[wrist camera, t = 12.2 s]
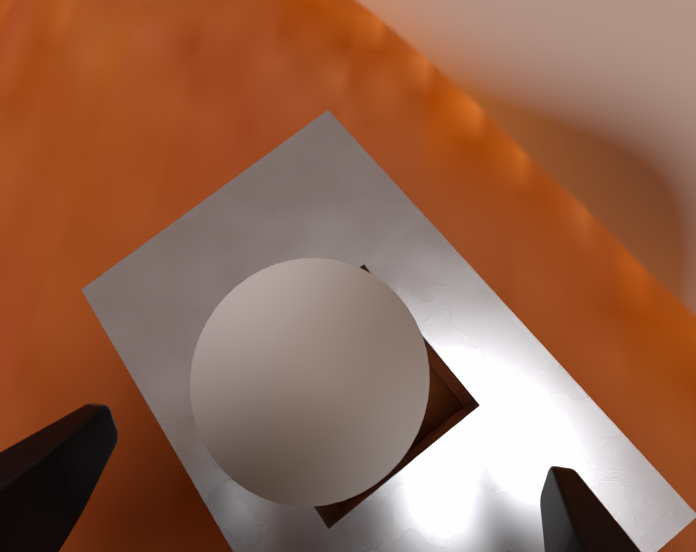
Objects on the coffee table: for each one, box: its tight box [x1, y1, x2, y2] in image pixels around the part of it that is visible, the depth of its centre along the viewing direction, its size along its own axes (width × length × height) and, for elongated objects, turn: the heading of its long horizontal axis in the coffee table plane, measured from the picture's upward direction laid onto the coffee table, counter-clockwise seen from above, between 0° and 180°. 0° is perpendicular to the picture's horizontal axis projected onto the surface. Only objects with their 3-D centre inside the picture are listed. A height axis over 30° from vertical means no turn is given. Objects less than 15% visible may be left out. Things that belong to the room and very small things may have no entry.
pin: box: [190, 258, 430, 507], centre depth 13 cm, size 4×4×10 cm
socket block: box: [82, 110, 696, 552], centre depth 16 cm, size 10×16×4 cm, turn 37°
